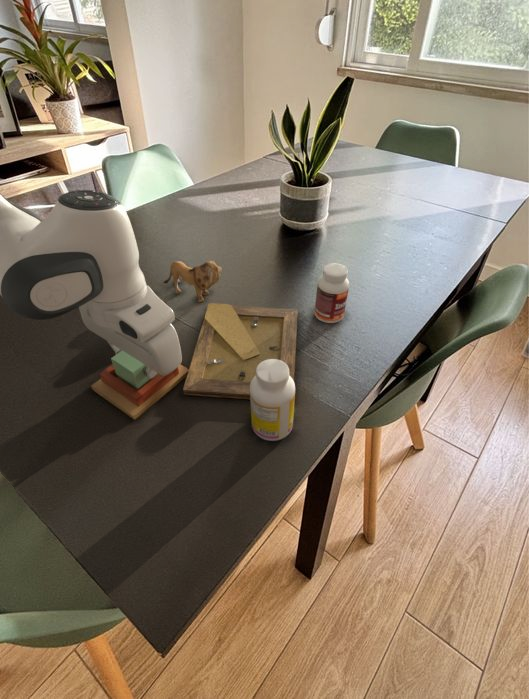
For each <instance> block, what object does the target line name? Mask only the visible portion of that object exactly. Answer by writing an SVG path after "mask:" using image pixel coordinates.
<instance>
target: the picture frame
mask: <svg viewBox="0 0 529 699" xmlns="http://www.w3.org/2000/svg"><path fill="white" fill-rule="evenodd" d="M204 315H205V316H204V319H203V322H202V325H201V328H200V332H199V335H198V337H197V338H198V339H197V342H196V344H195V348H194V351H193V355H192V358H191V361H190V365H189V368H188V369H189V371H188V375H187V377H185V382H184V385H183V388H182V390H183V395H184V396H196V397H210V398H225V399H238V400H239V399H240V400H250V384H251V381H252V379H253V378H254V377H255V376H256V369H257V366H258V365H259V364H260V363H261V362H263V361H265V360H268V359H277V360H280V361H282V362H284V363H285V364H286V365H287V366H288V368H289V376H290V377H291V378H292V379H293V381H294V382H295V369H296V352H297V350H296V349H297V333H298V332H297V330H298V308H285V307H284V308H282V307H269V306H268V307H266V306H250V305H249V306H248V305H247V306H246V305H232V304H229V303H215V302H214V303H212V302H208V305H207V308H206V311H205V314H204Z"/></svg>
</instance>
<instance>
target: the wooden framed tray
mask: <svg viewBox="0 0 529 699" xmlns="http://www.w3.org/2000/svg"><path fill="white" fill-rule="evenodd" d="M188 371H189V368H188V367H186V366H184V365H182V363H181V364H180V365H179V366H178V367H177V368H176V369H175V370H174V371H173V372H171V373H170V374H168V375H166V376H162V375H160V374H159V373H158V374H157V375H156V376H155V377H153V378H152V379H150V380H149V381H148V382H146V383H145V384H144V385H142V386H141V387H140V388H139V389H137V388H136V387H134V386H133V385H131V384H130V383H128V382H127V381H125V380H124V379H122V378H121V377H119V376H118V375H116V372H115V369H114V366H113V363H112V364H110V365H109V366H108V367H107V368H105V369H103V371H101V372H99V377H100V378H99V379H98V380H97V381H95V382H94V383H92V384H91V385H90V387H91V389H92V391H94V392H95V393H97V394H98V395H99V396H101V397H102V398H103V399H104V400H106V401H108V402H109V403H110V404H112V405H113V406H115V407H116V408H117V409H119V410H120V411H121V412H123V413H124V414H126V415H127V416H128V417H130V418H132V419H133V420H136V419H138V418H139V417H140V416H141V415H142V414H144V413H145V412H146V411H147V410H149V408H151V407H152V406H153V405H155V404H156V403H157V402H158V401H159V400H160V399H162V398H163V397H164V396H165V395H167V394H168V393H169V392H170V391H171V390H173V388H175V387H176V386H177V385H178V384H179V383H181V382H182V381H183V380H185V379H186V378H187V375H188Z"/></svg>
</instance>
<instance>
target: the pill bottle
mask: <svg viewBox="0 0 529 699" xmlns="http://www.w3.org/2000/svg"><path fill="white" fill-rule="evenodd" d="M348 273H349V272H348V268H347V267H346V266H345V265H344V264H340V263H333V262H332V263H327V264H326V265H324V266H323V269H322V274H321V276H319V278H318V280H317V285H316V294H315V302H314V303H315V304H314V316H315V317H316V319H317V320H319V321H321V322H322V323H326V324H335V323H336V324H337V323H339V322H340V321H341V320H343V319H344V316H345V312H346V307H347V300H348V295H349V289H350V280H349V279H348V278H347V277H348Z"/></svg>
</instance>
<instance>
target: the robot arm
mask: <svg viewBox="0 0 529 699" xmlns="http://www.w3.org/2000/svg"><path fill="white" fill-rule="evenodd" d="M139 260H140V252H139V248H138V243H137V240H136V236H135V232H134V229H133V226H132V223H131V219H130V217H129V214H128V212H127V210H126V208H125V206H124V205H123V204H122V202H120V201H119V200H118V199H117V198H115V197H114V196H112V195H111V194H109V193H106V192H104V191H97V190H94V189H77V190H70V191H68V192H65V193H62V194H61V195H59V197H57V199H56V201H55V204H54V206H53V207H52V209H51V210H50V212H48V213H47V215H46V216H45V217H44V219H43V218H42V217H41V216H40V215H38V214H37V213H35V212H34V211H31V210H29V209H28V208H26V207H23V206H21V205H19V204H17V203H15V202H13V201H11V200H9V199H8V198H6V197H5V196H4V195H3V194H1V193H0V297H1V298H2V299H3V302H4V303H5V305H6V306H7V307H8V308H9V309H10V310H11V311H13V313H15V314H17V315H18V316H21V317H23V318H26V319H31V320H37V321H39V320H40V321H43V320H44V321H45V320H53V319H55V318H59V317H61V316H63V315H66V314H68V313H70V312H72V311H74V310H75V309H77V308H78V310H79V314H80V317H81V321H82V323H83V324H84V326H85V327H86V328H87V330H89V331H90V332H92V333H93V334H95V335H96V336H98V337H100V338H102V339H103V340H105V341H106V342H107V343H108V345H109V346H110V347H111V349H112V350H113V351H114V353H115V355H116V354H118V353H119V352H121V351H124V352H126V353H127V354H129V355H130V356H132V357H134V358H135V359H137V360H138V361H140V362H141V363H143V364H144V365H145V367H144V368H143V372H144V375H145V376H147V377H148V378H150V379H152V378H153V377H155V376H156V375H157V373H159V374H160V375H162V376H166V375H168V374H170V373H171V372H173V371H174V370H175V369H176V368H177V367H178V366H179V365H180V364H181V365H182V361H183V356H182V349H181V345H180V344H181V343H180V340H179V336H178V333H177V331H176V328H175V327H174V325H173V324H172V323H173V322H174V321H175V320H176V317H175V312H174V310H173V309H172V308H171V307H170V306H168V305H167V303H165V302H164V301H163V300H162V299H161V298H160V297H159V296H158V295H157V294H156V293H155V292H154V291H153V290H152V288H151V287H150V286H149V285H147V282H146V278H145V275H144V272H143V271H142V269H141V268H140V264H139Z"/></svg>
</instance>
